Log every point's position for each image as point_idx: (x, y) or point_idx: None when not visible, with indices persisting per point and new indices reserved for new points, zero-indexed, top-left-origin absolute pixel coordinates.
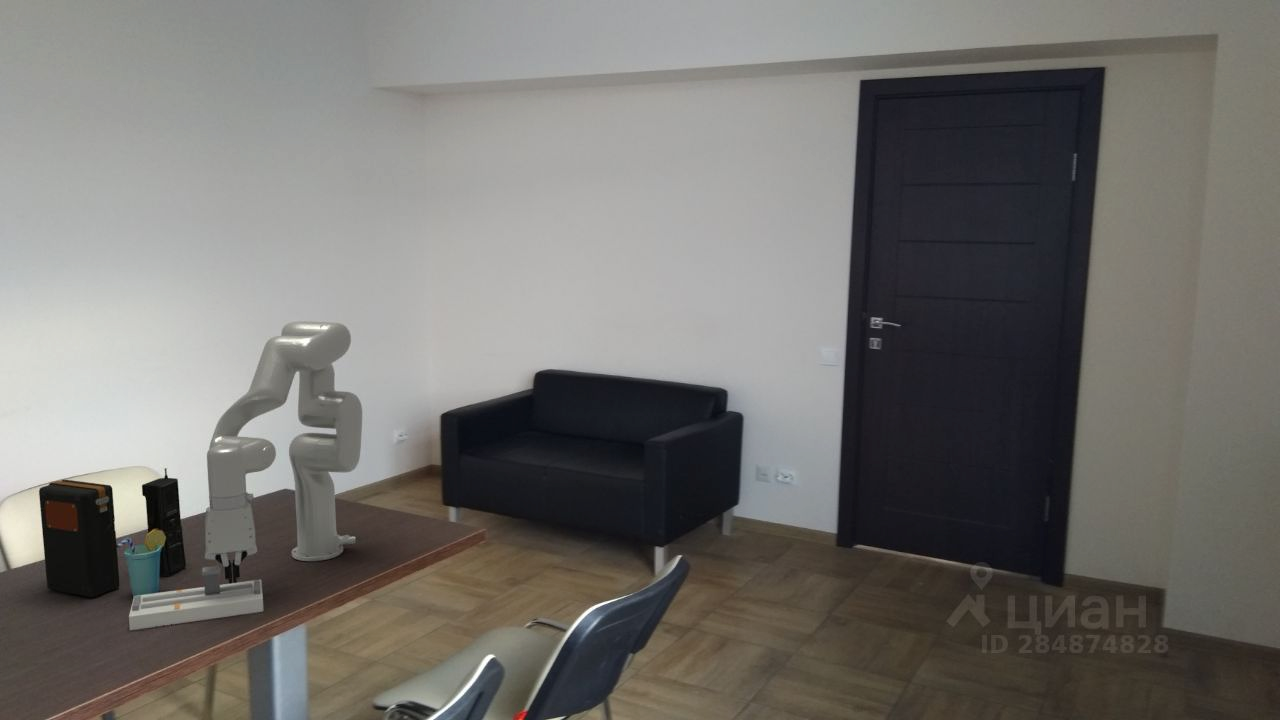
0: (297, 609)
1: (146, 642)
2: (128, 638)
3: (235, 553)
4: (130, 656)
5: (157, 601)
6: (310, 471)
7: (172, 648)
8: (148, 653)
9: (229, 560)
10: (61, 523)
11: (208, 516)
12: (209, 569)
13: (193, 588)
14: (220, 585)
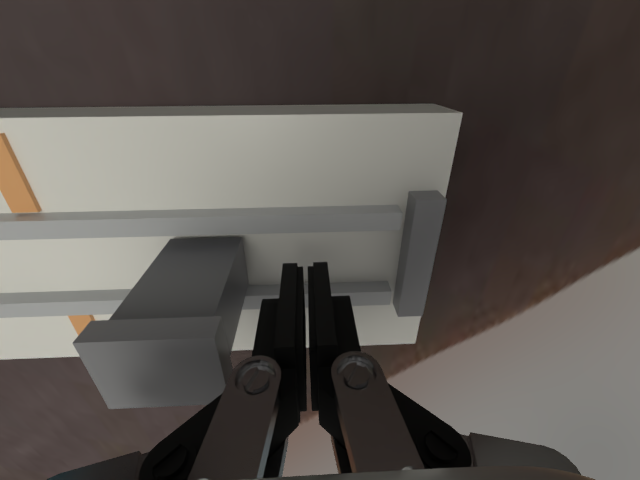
0: (499, 320)
1: (87, 395)
2: (14, 365)
3: (349, 447)
4: (83, 440)
5: None
6: None
7: (172, 430)
8: (122, 437)
9: (289, 402)
10: None
11: None
12: (148, 384)
13: (67, 120)
14: (228, 129)
